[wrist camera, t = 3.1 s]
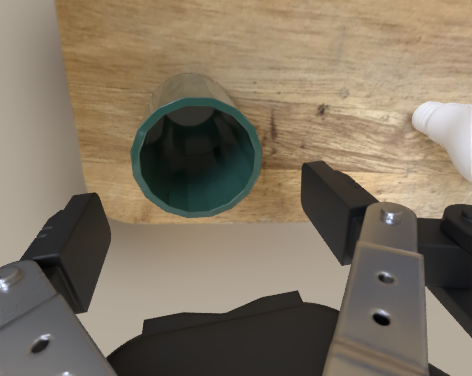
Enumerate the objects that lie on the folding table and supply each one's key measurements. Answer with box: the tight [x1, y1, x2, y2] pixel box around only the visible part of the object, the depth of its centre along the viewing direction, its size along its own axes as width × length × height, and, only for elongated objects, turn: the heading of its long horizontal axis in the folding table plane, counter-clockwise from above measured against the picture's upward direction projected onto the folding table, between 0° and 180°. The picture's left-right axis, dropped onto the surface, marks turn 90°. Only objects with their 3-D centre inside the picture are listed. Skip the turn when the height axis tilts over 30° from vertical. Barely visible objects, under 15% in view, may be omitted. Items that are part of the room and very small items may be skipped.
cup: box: [130, 73, 262, 218], centre depth 18 cm, size 6×6×9 cm
